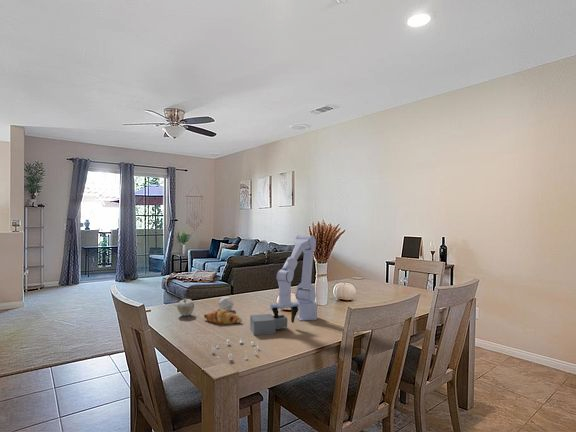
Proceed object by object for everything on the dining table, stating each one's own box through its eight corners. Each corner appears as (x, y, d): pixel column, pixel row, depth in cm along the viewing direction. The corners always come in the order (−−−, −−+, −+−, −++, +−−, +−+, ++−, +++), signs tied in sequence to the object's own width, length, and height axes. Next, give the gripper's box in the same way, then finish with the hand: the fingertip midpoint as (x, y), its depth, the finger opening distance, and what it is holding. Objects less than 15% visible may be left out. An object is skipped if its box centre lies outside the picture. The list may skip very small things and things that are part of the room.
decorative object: (192, 312, 195) (192, 295, 195) (195, 316, 187) (195, 298, 187) (176, 314, 191) (176, 296, 191) (178, 319, 183) (178, 300, 183)
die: (226, 314, 193) (236, 299, 196) (213, 306, 195) (223, 291, 198) (228, 316, 201) (237, 301, 204) (216, 308, 202) (225, 293, 205)
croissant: (243, 328, 179) (246, 313, 182) (236, 325, 170) (240, 308, 174) (206, 324, 184) (209, 309, 188) (198, 320, 176) (201, 304, 179)
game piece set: (245, 366, 127) (245, 355, 127) (200, 357, 135) (200, 347, 135) (268, 347, 145) (269, 338, 145) (228, 340, 153) (228, 332, 153)
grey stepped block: (283, 325, 173) (283, 312, 173) (288, 332, 163) (288, 318, 163) (250, 328, 168) (250, 315, 168) (253, 335, 158) (253, 321, 158)
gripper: (271, 297, 162) (271, 326, 162) (301, 295, 165) (301, 324, 165) (268, 294, 169) (268, 322, 169) (297, 292, 172) (297, 319, 172)
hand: (284, 322), depth 168 cm, fingers open, 7 cm apart
